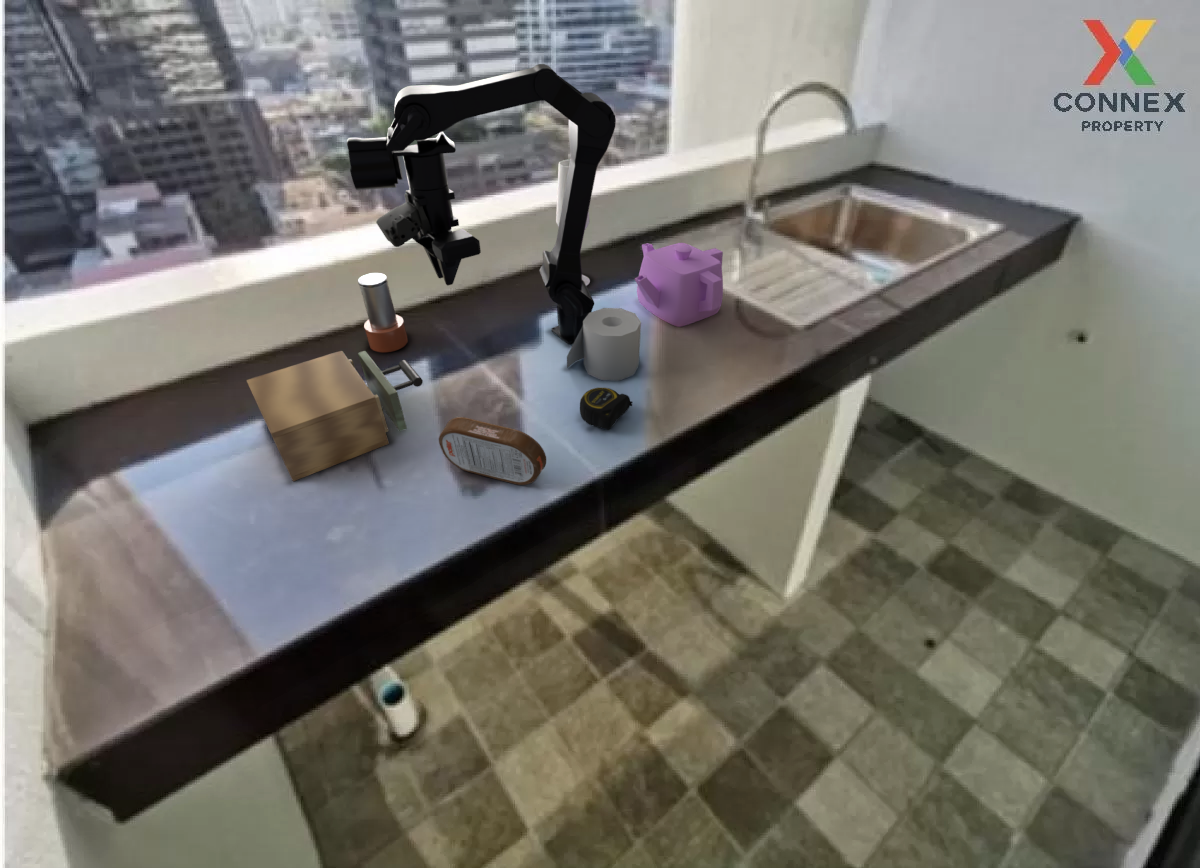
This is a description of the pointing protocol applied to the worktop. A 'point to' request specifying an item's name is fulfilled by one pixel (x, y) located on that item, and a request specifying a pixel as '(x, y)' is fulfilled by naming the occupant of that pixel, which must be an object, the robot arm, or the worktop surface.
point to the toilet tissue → (608, 344)
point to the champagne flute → (562, 180)
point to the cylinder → (377, 300)
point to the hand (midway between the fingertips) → (445, 281)
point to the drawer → (388, 388)
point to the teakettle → (680, 283)
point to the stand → (387, 336)
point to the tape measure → (603, 407)
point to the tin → (492, 450)
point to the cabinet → (319, 413)
